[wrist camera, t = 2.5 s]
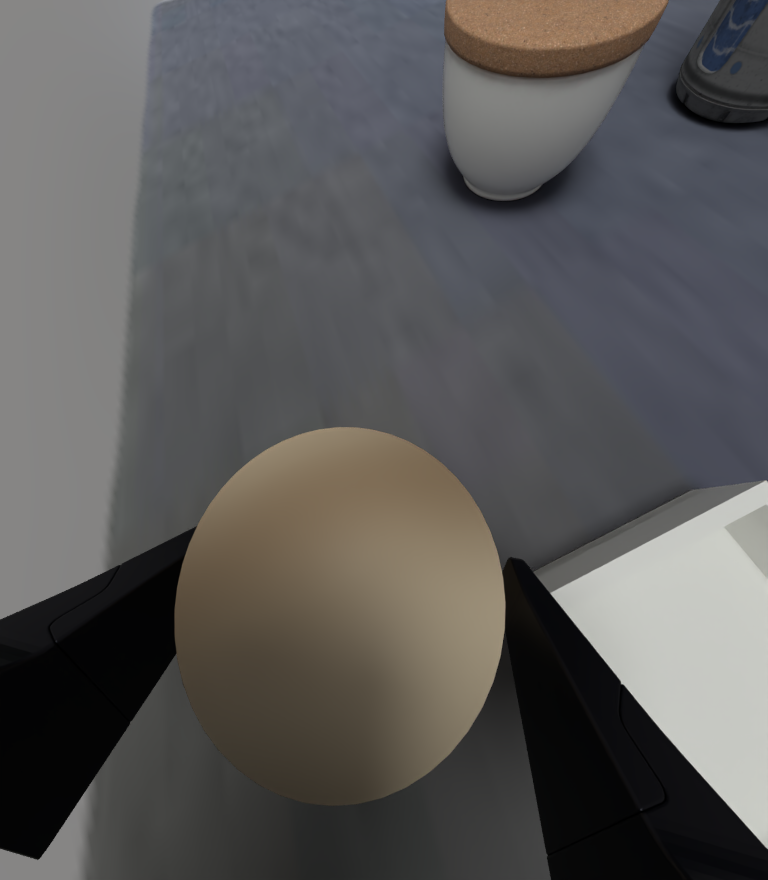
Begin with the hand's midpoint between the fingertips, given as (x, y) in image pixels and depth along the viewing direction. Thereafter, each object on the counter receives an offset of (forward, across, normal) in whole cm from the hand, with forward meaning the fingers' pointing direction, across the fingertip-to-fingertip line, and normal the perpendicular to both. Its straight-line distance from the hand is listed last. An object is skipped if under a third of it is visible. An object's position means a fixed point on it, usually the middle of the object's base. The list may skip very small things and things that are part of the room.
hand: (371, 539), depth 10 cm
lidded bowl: (+28, -5, -17) cm, 33 cm away
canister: (+5, 0, +6) cm, 7 cm away
